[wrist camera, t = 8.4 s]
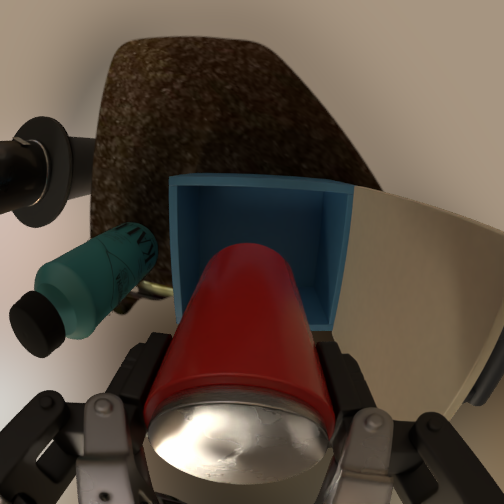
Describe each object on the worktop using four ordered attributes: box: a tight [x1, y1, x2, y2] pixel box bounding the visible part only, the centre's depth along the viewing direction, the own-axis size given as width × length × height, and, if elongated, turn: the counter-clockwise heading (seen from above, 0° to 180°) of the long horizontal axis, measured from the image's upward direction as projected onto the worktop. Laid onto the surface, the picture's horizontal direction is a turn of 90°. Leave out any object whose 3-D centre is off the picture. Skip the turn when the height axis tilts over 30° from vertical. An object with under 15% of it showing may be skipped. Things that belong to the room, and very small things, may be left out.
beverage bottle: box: [9, 221, 158, 358], centre depth 21 cm, size 6×7×20 cm
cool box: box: [169, 173, 356, 331], centre depth 26 cm, size 14×13×9 cm
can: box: [143, 243, 336, 484], centre depth 11 cm, size 6×6×11 cm
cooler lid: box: [332, 186, 504, 422], centre depth 14 cm, size 15×13×6 cm
